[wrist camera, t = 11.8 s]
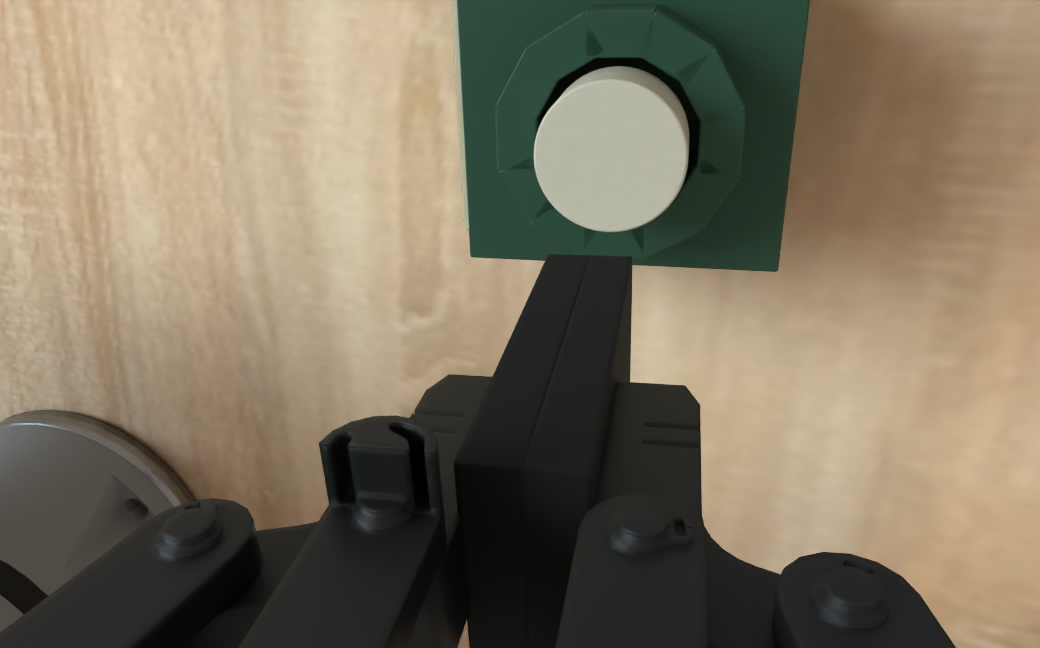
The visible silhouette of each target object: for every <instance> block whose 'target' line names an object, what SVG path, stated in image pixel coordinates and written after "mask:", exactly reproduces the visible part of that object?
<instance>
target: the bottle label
mask: <svg viewBox="0 0 1040 648" xmlns="http://www.w3.org/2000/svg"><path fill="white" fill-rule="evenodd" d="M451 5H452V23H453V41H454V59H455V77H456V94H457V112H458V130H459V148H460V166H461V184H462V202H463V220H464V230H469V219H468V200H467V181H466V162H465V143H464V124H463V106H462V87H461V68H460V49H459V30H458V12H457V0H451Z"/></svg>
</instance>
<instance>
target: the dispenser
mask: <svg viewBox="0 0 1040 648" xmlns="http://www.w3.org/2000/svg"><path fill="white" fill-rule="evenodd" d="M809 3H810V0H457V12H458V30H459V49H460V68H461V87H462V106H463V124H464V143H465V162H466V181H467V200H468V219H469V237H470V255H471V257H479V258H500V259H521V260H542V261H546V258H547V256H548V254H565V255H599V256H632V265H647V266H668V267H689V268H710V269H731V270H751V271H772V272H776V271H778V265H779V257H780V248H781V240H782V232H783V223H784V215H785V206H786V198H787V189H788V181H789V172H790V164H791V155H792V147H793V138H794V130H795V121H796V113H797V105H798V96H799V88H800V79H801V71H802V62H803V54H804V45H805V37H806V28H807V20H808V11H809ZM613 66H624V67H632V68H637V69H640V70H643V71H646V72H648V73H650V74H652V75H654V76H656V77H657V78H659V79H660V80H661V81H663V82H664V83H665V84H666V85H667V86H668V87H669V88H670V89H671V90H672V91H673V92H674V93H675V95H676V96H677V97H678V99H679V101H680V102H681V104H682V106H683V109H684V111H685V113H686V117H687V121H688V126H689V156H688V166H687V172H686V176H685V179H684V182H683V184H682V187H681V189H680V191H679V193H678V194H677V196H676V198H675V199H674V200H673V202H672V203H671V204H670V206H669V207H668V208H667V209H666V210H665V211H664V212H663V213H661V214H660V215H659V216H658V217H656V218H655V219H653V220H652V221H650V222H648V223H647V224H644V225H642V226H640V227H637V228H634V229H630V230H626V231H620V232H603V231H596V230H592V229H588V228H585V227H582V226H580V225H578V224H576V223H574V222H572V221H570V220H569V219H567V218H566V217H564V216H563V215H562V214H561V213H560V212H559V211H557V210H556V209H555V208H554V206H553V205H552V204H551V203H550V202H549V200H548V199H547V197H546V196H545V194H544V193H543V191H542V189H541V187H540V185H539V182H538V179H537V176H536V172H535V167H534V144H535V139H536V135H537V132H538V129H539V126H540V124H541V122H542V120H543V118H544V116H545V115H546V113H547V112H548V110H549V109H550V108H551V107H552V105H553V104H554V103H555V102H556V101H557V100H558V98H559V97H560V96H561V95H562V94H563V93H564V91H565V90H566V89H567V88H568V87H569V86H570V85H571V84H572V83H573V82H575V81H576V80H577V79H579V78H580V77H582V76H584V75H586V74H588V73H590V72H592V71H595V70H598V69H601V68H606V67H613Z"/></svg>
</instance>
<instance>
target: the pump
mask: <svg viewBox="0 0 1040 648" xmlns="http://www.w3.org/2000/svg"><path fill="white" fill-rule="evenodd" d="M688 156H689V126H688V121H687V117H686V113H685V111H684V109H683V106H682V104H681V102H680V101H679V99H678V97H677V96H676V95H675V93H674V92H673V91H672V90H671V89H670V88H669V87H668V86H667V85H666V84H665V83H664V82H663V81H661V80H660V79H659V78H657V77H656V76H654V75H652V74H650V73H648V72H646V71H643V70H640V69H637V68H632V67H624V66H613V67H606V68H601V69H598V70H595V71H592V72H590V73H588V74H586V75H584V76H582V77H580V78H579V79H577V80H576V81H575V82H573V83H572V84H571V85H570V86H569V87H568V88H567V89H566V90H565V91H564V93H563V94H562V95H561V96H560V97H559V98H558V100H557V101H556V102H555V103H554V104H553V105H552V107H551V108H550V109H549V110H548V112H547V113H546V115H545V116H544V118H543V120H542V122H541V124H540V126H539V129H538V132H537V135H536V139H535V144H534V167H535V172H536V176H537V179H538V182H539V185H540V187H541V189H542V191H543V193H544V194H545V196H546V197H547V199H548V200H549V202H550V203H551V204H552V205H553V206H554V208H555V209H556V210H557V211H559V212H560V213H561V214H562V215H563V216H564V217H566V218H567V219H569V220H570V221H572V222H574V223H576V224H578V225H580V226H582V227H585V228H588V229H592V230H596V231H603V232H620V231H626V230H630V229H634V228H637V227H640V226H642V225H644V224H647V223H648V222H650V221H652V220H653V219H655V218H656V217H658V216H659V215H660V214H661V213H663V212H664V211H665V210H666V209H667V208H668V207H669V206H670V204H671V203H672V202H673V200H674V199H675V198H676V196H677V194H678V193H679V191H680V189H681V187H682V184H683V182H684V179H685V176H686V172H687V166H688Z"/></svg>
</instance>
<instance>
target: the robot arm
mask: <svg viewBox="0 0 1040 648" xmlns="http://www.w3.org/2000/svg"><path fill="white" fill-rule="evenodd" d="M631 304H632V256H599V255H565V254H548V256H547V258H546V261H545V263H544V265H543V267H542V269H541V272H540V274H539V276H538V278H537V280H536V283H535V285H534V287H533V289H532V291H531V294H530V296H529V298H528V300H527V302H526V305H525V307H524V309H523V311H522V313H521V316H520V318H519V320H518V322H517V324H516V327H515V329H514V331H513V333H512V335H511V338H510V340H509V342H508V344H507V346H506V349H505V351H504V353H503V355H502V357H501V360H500V362H499V364H498V366H497V368H496V371H495V373H494V375H493V377H484V376H467V375H450V374H449V375H448V376H446V377H445V378H443V379H442V380H440V381H439V382H438V383H436V384H435V385H433V386H432V387H430V388H429V389H428V390H426V392H425V393H424V395H423V397H422V398H421V400H420V402H419V404H418V405H417V407H416V409H415V414H412V415H411V417H410V418H406V417H400V416H373V417H369V418H365V419H361V420H357V421H353V422H350V423H348V424H346V425H344V426H342V427H340V428H338V429H336V430H333V431H332V432H331V433H330V434H328V435H327V436H326V437H325V438H324V439H323V440H322V441H321V442H320V443H319V446H320V452H321V458H322V464H323V470H324V476H325V482H326V488H327V494H328V500H329V506H328V507H327V509H326V510H325V512H324V514H323V515H322V517H321V518H320V520H319V521H318V522H314V523H309V524H304V525H300V526H292V527H285V528H277V529H269V530H262V531H256V529H255V525H254V520H253V518H252V516H251V514H250V513H249V511H248V509H247V508H245V507H244V506H242V505H240V504H238V503H236V502H234V501H229V500H221V499H206V500H198V501H194V499H193V498H192V496H191V494H190V493H189V492H188V490H187V489H186V487H185V486H184V485H183V483H182V482H181V481H180V480H179V478H178V477H177V476H176V475H175V474H174V473H173V472H172V471H171V470H170V469H169V467H168V466H167V465H166V464H165V463H163V462H162V461H161V460H160V459H159V458H158V457H157V456H156V455H155V454H153V453H152V452H151V451H150V450H148V449H147V448H146V447H144V446H143V445H142V444H140V443H139V442H137V441H136V440H134V439H133V438H131V437H129V436H128V435H126V434H124V433H123V432H121V431H119V430H117V429H115V428H113V427H111V426H109V425H107V424H104V423H102V422H99V421H97V420H94V419H91V418H88V417H85V416H82V415H78V414H73V413H68V412H62V411H50V410H41V411H30V412H24V413H20V414H17V415H14V416H11V417H9V418H7V419H5V420H3V421H1V422H0V648H457V647H458V644H459V641H460V638H461V635H462V632H463V629H464V626H465V623H466V620H467V623H468V635H469V646H470V648H956V647H955V646H954V644H953V643H952V641H951V640H950V638H949V637H948V635H947V634H946V632H945V631H944V630H943V628H942V627H941V625H940V624H939V622H938V621H937V619H936V618H935V616H934V615H933V613H932V612H931V610H930V609H929V608H928V606H927V605H926V603H925V602H924V600H923V599H922V597H921V596H920V595H919V594H918V593H917V591H916V590H915V589H914V588H913V587H912V586H911V585H910V584H909V583H908V582H907V581H906V580H905V579H904V578H903V577H902V576H900V575H899V574H897V573H895V572H893V571H892V570H890V569H888V568H886V567H885V566H883V565H881V564H880V563H878V562H875V561H872V560H868V559H865V558H862V557H859V556H855V555H852V554H845V553H830V552H821V553H816V554H812V555H807V556H803V557H799V558H798V559H796V560H795V561H794V562H792V563H791V564H789V565H788V566H786V567H785V568H784V569H783V571H782V573H781V575H780V574H777V573H774V572H771V571H768V570H765V569H762V568H759V567H756V566H754V565H752V564H749V563H747V562H744V561H742V560H740V559H738V558H736V557H734V556H733V555H731V554H730V553H728V552H727V551H725V550H724V549H722V548H721V547H720V546H719V545H718V544H717V543H716V542H715V541H714V540H713V539H712V538H711V537H710V535H709V533H708V532H707V530H706V528H705V527H704V523H703V518H702V502H701V448H700V447H701V435H700V404H699V403H698V402H697V400H696V399H695V398H694V396H693V395H692V394H691V393H690V391H689V390H688V389H687V387H686V386H683V385H666V384H648V383H631V382H630V354H631Z"/></svg>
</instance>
